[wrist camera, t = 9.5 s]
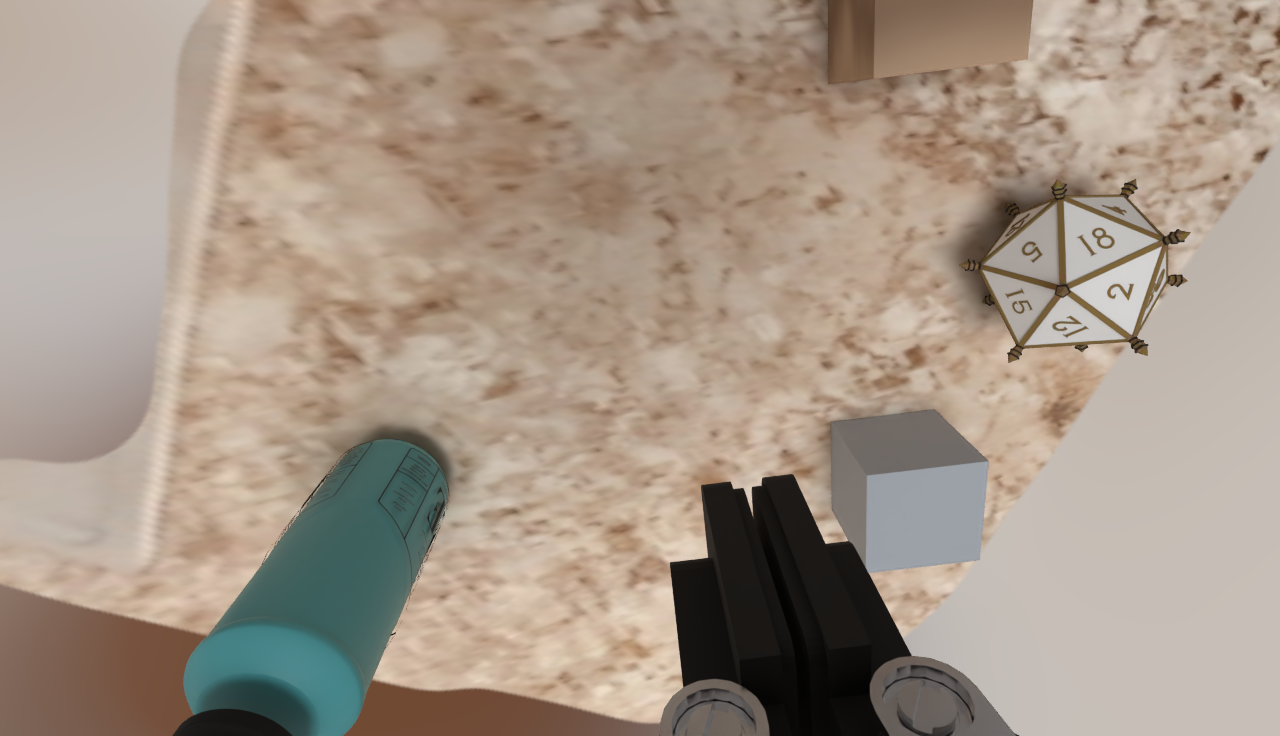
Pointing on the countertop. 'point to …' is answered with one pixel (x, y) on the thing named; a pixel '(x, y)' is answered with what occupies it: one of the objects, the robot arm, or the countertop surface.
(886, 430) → the slate block
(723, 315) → the countertop surface
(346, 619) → the beverage bottle
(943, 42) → the walnut block
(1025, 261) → the game die
